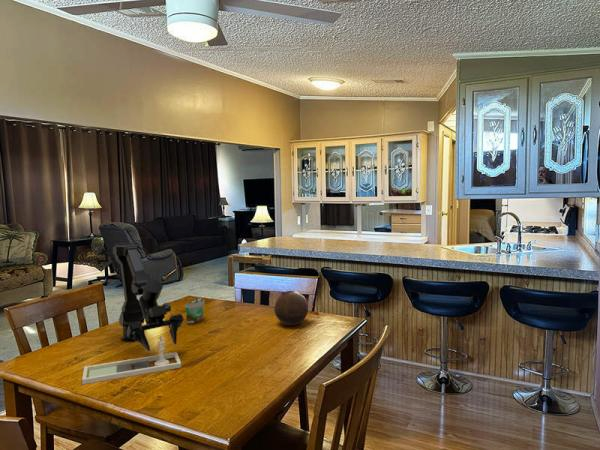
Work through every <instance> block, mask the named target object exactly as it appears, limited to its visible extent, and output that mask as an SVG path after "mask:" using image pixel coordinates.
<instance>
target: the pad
mask: <svg viewBox="0 0 600 450" xmlns="http://www.w3.org/2000/svg"><path fill="white" fill-rule="evenodd" d="M116 368H117V367H116V366H113V367H107V368H101V369H95V370H90V371H88V378H89V377H95V376H101V375H107V374H113V373H117V372H116Z"/></svg>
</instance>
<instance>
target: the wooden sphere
mask: <svg viewBox="0 0 600 450" xmlns="http://www.w3.org/2000/svg"><path fill="white" fill-rule="evenodd" d="M273 307H274V314H275V317H276V318H277V320H279V321H280V323H282V324H284V325H287V326H295V325H299V324H300V323H302V322H303V321H304V320H305V319H306V317H307V315H308V313H309V304H308V301H307V299H306V298H305V296H304V295H303V294H302V293H301V292H298V291H296V290H288V291H284V292H282V293H281V294H280V295H278V297H277V298H276V301H275V302H274V306H273Z"/></svg>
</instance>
